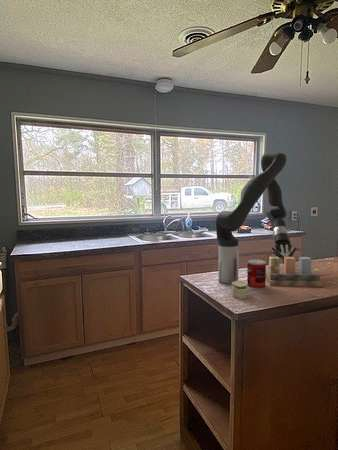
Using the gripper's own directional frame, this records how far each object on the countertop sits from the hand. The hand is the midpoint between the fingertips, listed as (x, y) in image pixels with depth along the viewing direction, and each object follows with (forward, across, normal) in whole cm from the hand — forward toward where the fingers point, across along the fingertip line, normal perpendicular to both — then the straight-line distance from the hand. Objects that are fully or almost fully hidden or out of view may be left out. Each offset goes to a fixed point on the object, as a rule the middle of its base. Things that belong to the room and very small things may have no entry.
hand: (286, 264), depth 139 cm
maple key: (+6, -7, -1) cm, 9 cm away
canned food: (+15, -17, -7) cm, 24 cm away
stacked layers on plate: (+26, -26, -16) cm, 40 cm away
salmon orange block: (+6, 0, -1) cm, 6 cm away
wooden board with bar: (+10, 0, -1) cm, 10 cm away
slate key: (+6, +7, -1) cm, 9 cm away
